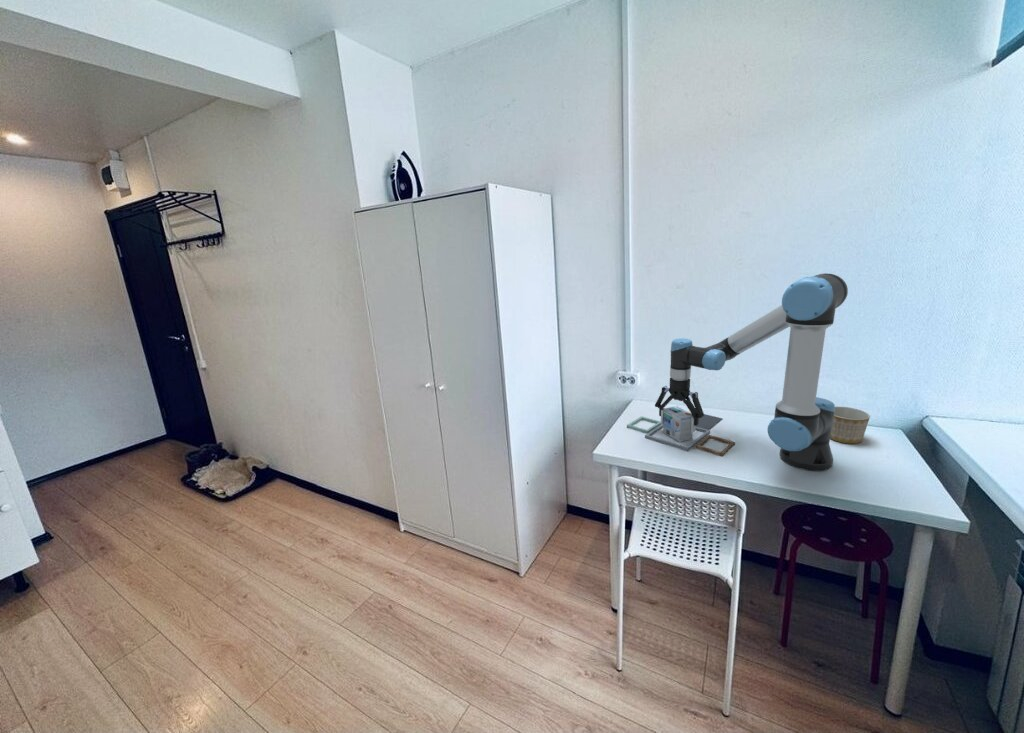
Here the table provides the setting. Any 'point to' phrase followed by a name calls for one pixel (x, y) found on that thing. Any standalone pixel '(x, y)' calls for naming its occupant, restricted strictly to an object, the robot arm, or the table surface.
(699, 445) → the walnut frame
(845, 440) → the planter
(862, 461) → the table surface
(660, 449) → the table surface
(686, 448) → the slate frame
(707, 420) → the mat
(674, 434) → the light bulb box
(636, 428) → the teal frame
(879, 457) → the table surface
